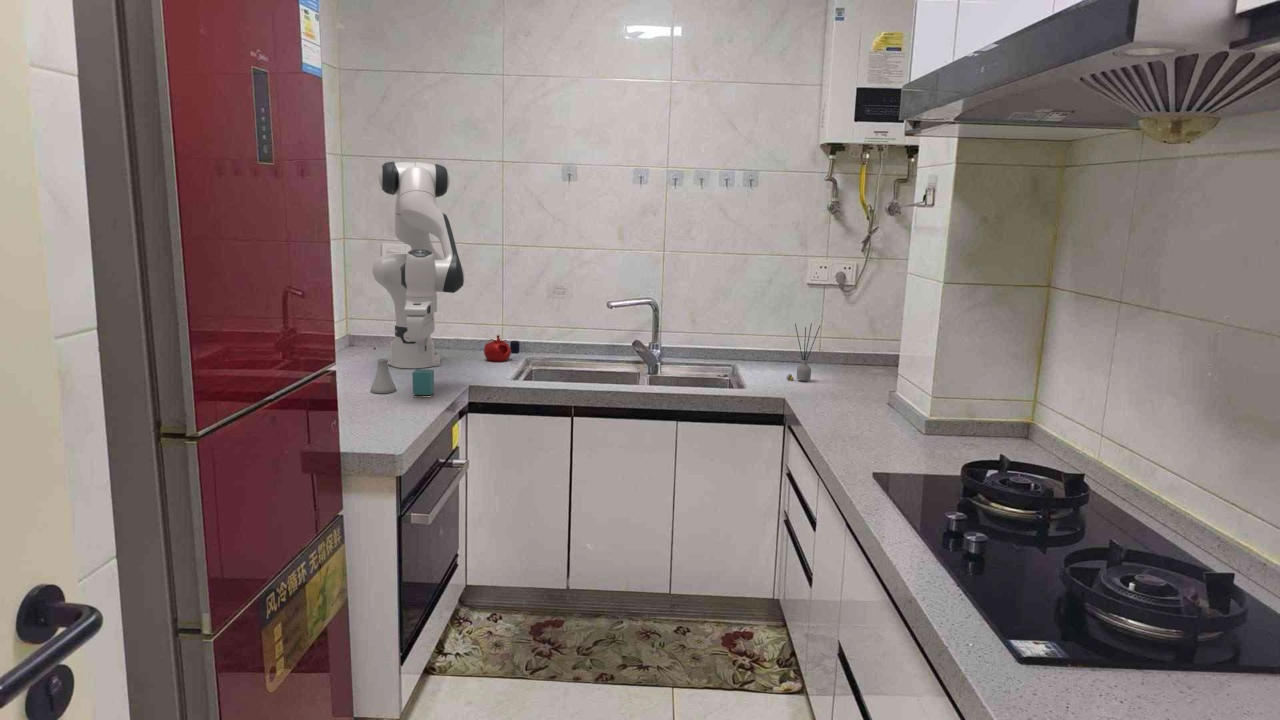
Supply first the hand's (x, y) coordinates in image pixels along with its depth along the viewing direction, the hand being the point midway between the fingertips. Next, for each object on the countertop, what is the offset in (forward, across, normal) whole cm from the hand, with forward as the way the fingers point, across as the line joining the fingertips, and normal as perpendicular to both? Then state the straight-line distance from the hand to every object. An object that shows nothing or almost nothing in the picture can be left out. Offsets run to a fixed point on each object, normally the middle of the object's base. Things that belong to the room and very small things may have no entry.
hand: (422, 352), depth 246 cm
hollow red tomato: (+13, -58, +15) cm, 61 cm away
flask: (+13, -5, -13) cm, 19 cm away
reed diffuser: (+13, -28, +121) cm, 125 cm away
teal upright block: (+12, 0, 0) cm, 12 cm away
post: (+13, 0, 0) cm, 13 cm away
